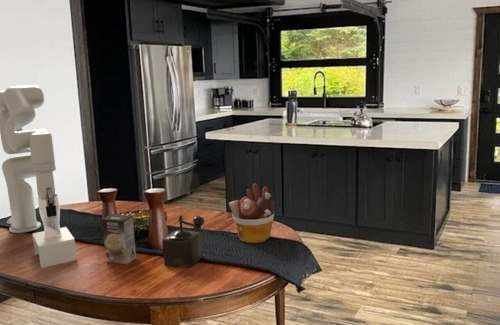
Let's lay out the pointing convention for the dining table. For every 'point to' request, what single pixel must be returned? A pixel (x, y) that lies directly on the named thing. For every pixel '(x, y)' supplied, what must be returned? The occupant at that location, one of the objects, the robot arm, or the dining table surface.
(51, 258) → the white block
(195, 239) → the manual coffee grinder
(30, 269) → the dining table surface
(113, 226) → the coffee box
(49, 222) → the beer glass
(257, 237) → the bucket of meat
